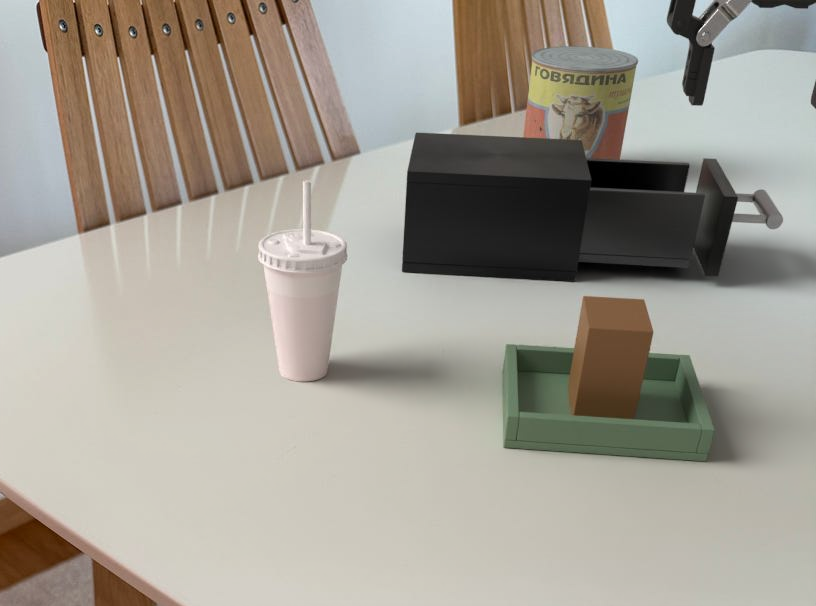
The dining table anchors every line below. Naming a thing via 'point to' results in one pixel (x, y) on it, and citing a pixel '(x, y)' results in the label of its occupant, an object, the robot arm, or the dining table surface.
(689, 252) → the pull-out drawer box
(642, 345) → the block
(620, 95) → the canned food
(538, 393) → the tray
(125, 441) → the dining table surface
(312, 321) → the smoothie
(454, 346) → the dining table surface
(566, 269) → the black box
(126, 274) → the dining table surface
